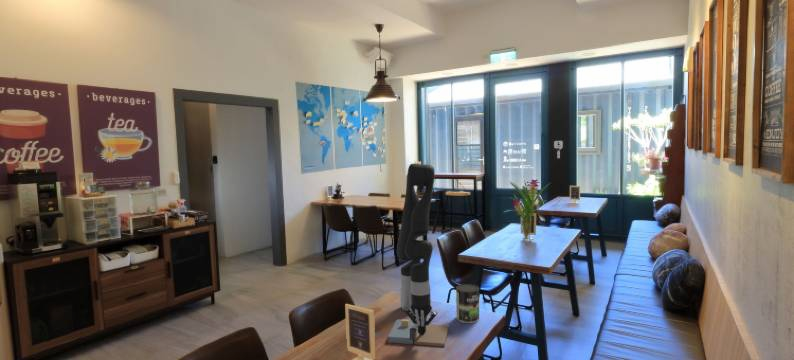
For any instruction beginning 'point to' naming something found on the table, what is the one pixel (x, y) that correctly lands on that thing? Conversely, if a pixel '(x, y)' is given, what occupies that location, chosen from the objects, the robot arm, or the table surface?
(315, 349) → the table surface
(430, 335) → the frame
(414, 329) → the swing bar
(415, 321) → the robot arm
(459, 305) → the coffee can
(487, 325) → the table surface
